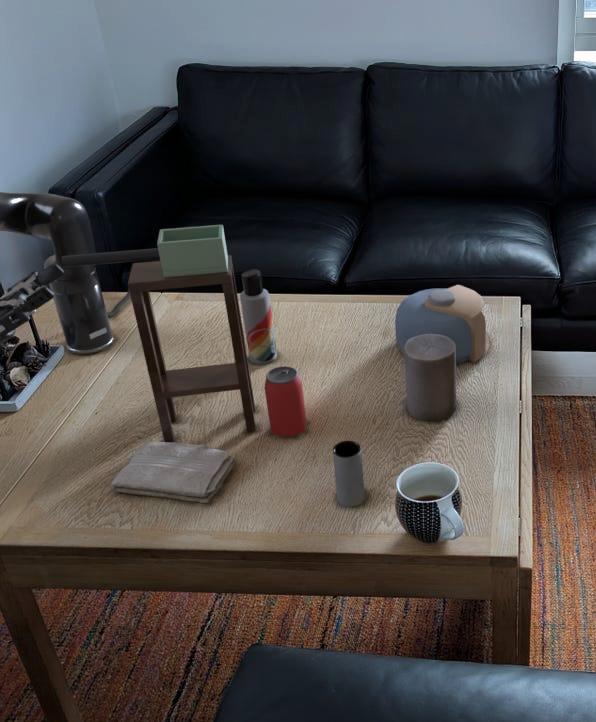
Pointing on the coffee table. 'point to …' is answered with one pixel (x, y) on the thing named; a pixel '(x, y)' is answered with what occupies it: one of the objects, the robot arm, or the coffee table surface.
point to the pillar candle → (430, 376)
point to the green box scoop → (171, 252)
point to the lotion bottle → (257, 318)
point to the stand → (194, 378)
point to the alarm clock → (445, 319)
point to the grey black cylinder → (348, 473)
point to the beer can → (285, 402)
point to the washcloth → (175, 471)
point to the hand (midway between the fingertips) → (55, 279)
